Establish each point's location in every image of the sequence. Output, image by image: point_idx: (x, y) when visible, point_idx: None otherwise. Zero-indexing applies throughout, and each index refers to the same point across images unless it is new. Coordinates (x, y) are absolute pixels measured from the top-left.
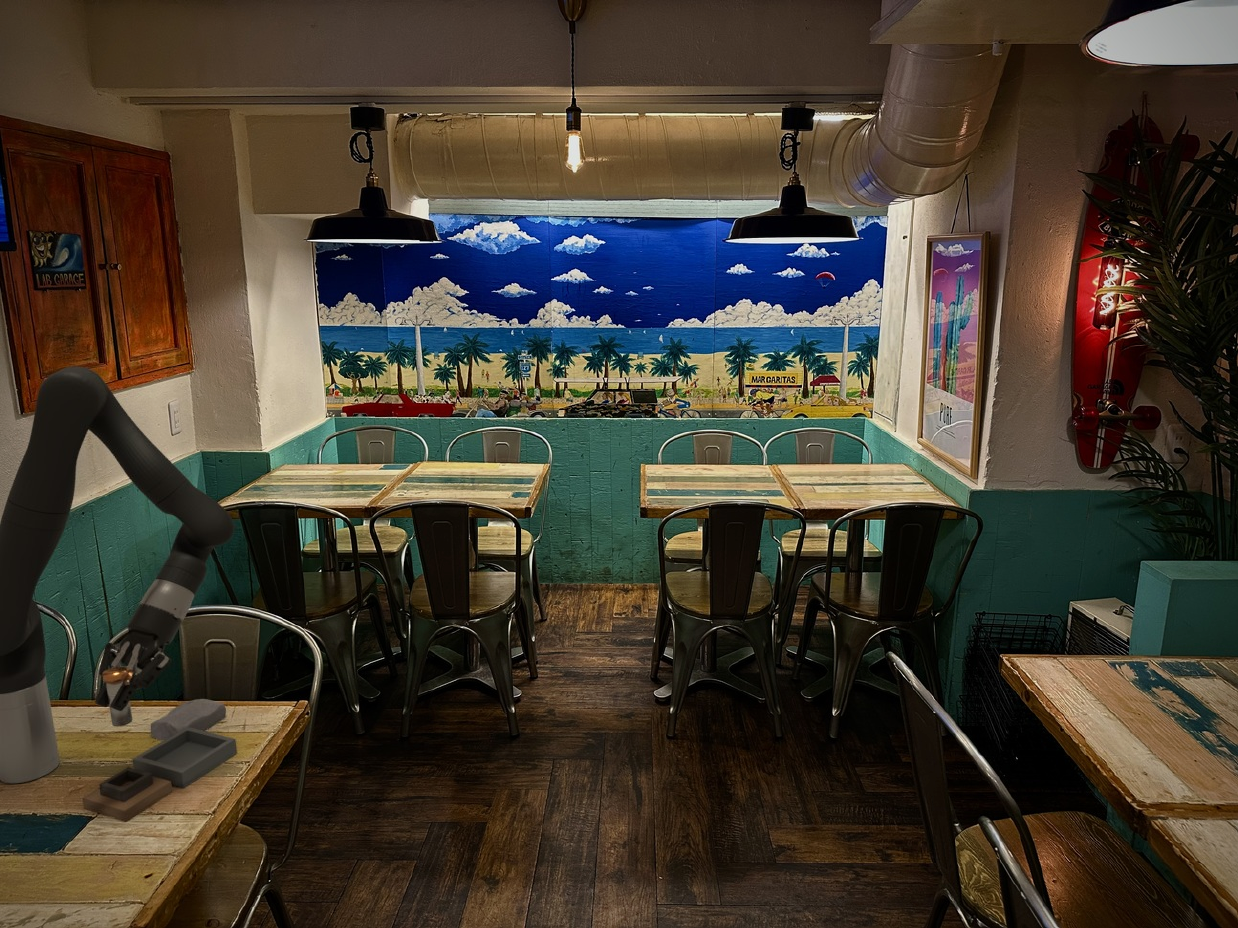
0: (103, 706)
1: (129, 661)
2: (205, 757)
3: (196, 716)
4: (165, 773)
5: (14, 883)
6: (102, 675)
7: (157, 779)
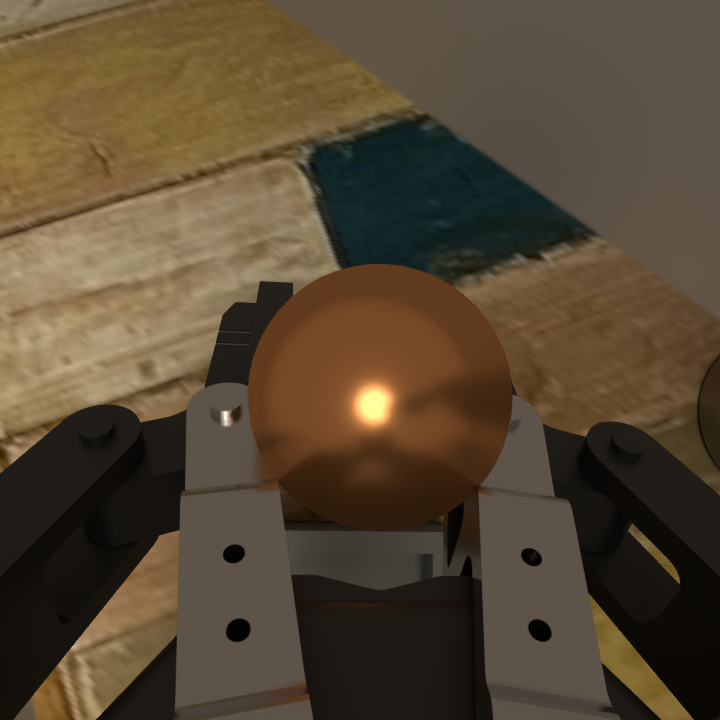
0: None
1: (354, 607)
2: None
3: None
4: (285, 526)
5: (294, 29)
6: (443, 284)
7: (281, 486)
